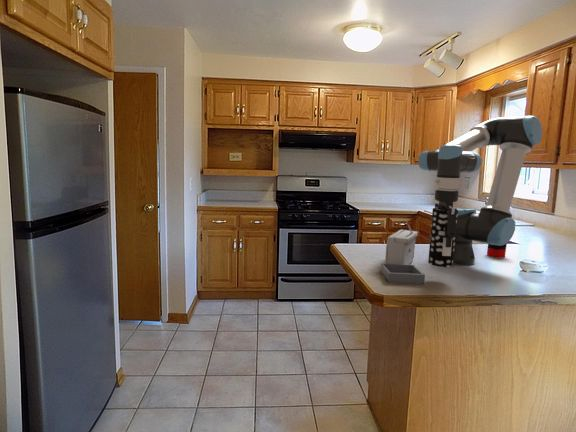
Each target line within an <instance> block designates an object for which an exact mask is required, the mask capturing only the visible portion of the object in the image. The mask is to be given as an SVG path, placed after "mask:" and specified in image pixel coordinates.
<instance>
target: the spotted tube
mask: <svg viewBox="0 0 576 432" xmlns="http://www.w3.org/2000/svg"><path fill="white" fill-rule="evenodd" d="M447 212H448V211H445V210H441V209H438V208H435V207H434V208H432V213H431V225H430V236H429V237H430V238H429V247H428V248H429V249H428V260H427V261H428V262H427V263H428V264H429V265H431V266H433V267H438V268H451V267H453V266H454V264H453V257H454V247H455V237H453V238H452V247H451V256H442V250H443V239H444V238H443V236H445V222H446V223H447V219H448V213H447ZM457 215H458V210H457V213H456V226H457Z"/></svg>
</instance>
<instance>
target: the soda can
mask: <svg viewBox="0 0 576 432" xmlns="http://www.w3.org/2000/svg"><path fill="white" fill-rule="evenodd" d="M507 244H508V242H507V243H506V244H505V245H501V246H499V245H490V244H488V243H487V251H486V255H487V256H489V257H491V258H496V259H497V258H498V259H503V258H505V257H506V252H507Z"/></svg>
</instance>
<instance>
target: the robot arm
mask: <svg viewBox="0 0 576 432" xmlns="http://www.w3.org/2000/svg"><path fill="white" fill-rule="evenodd" d="M542 137H543V128H542V123H541V121H540V119H539V118H538V117H537V116H535V115H522V116H520V115H519V116H507V117H506V116H505V117H495V118H491V119H488V120H486V121H483V122H481V123H480V124H476V125H475V126H473V127H472V128H470V129H469V131H468V132H467V133H465V134H463V135H461V136H459V137H458V138H457V137H456V138H455V139H453V140H451V141H449V142H448V143H446V144H443V145H441V146H440V147H438V148H436V149H434V150H426V151H425V150H424V151H422V152H421V153H420V154H419V155H418V161H417V162H418V167H419V168H420V169H421V170H423V171H429V172H430V171H431V172H432V171H433V172H436V179H435V180H434V182H435V188H436V190H435V191H434V200H435V201H437V202H438V203H434V208H438V209H441V210H445V211H448V212H447V213H448V219H447V223H446V222H445V236H443V238H444V239H443V250H442V256H451V247H452V238H453V237H455V247H454V257H453V265H457V266H458V265H460V266H469V265H470V266H471V265H474V264H475V262H476V256H475V253H474V249H473V242H479V243H483V244H484V243H485V244H487V245H488V244H490V245H499V246H501V245H505V244H506V243H507V244H508V242H510V241H511V239H512V238H513V236H514V233H515V230H516V220H515V219H514V218H512V217H513V213H512V212H511V211H510V209H511V206H512V202H513V199H514V196H515V192H516V189H517V185H518V183H519V178H520V174H521V172H522V168H523V165H524V161H525V157H526V155H528V154H530V153H531V152H532V150H533V146H534V147H535V146H538V145H539V144H540V143H541V142H542ZM487 146H488V147H489V146H499V149H500V150H501V153H500V156H499V160H498V163H497V167H496V170H495V173H494V177H493V180H492V185H491V188H490V191H489V193H488V198H487V200H486V205H484V206H482V207H480V210H479V212H478V213H477V210H476V208H475V209H474V208H456V207H454V205H453V204H454V203H456V202H458V200H459V191H458V190H460V182H461V181H460V180H461V179H460V178H461V177H460V176H461V173H469V174H470V173H474V172H476V171H479V169H480V168H481V166H482V163H483V158H482V157H481V155H480V154H479V153H478V152H475V151H474V150H476V149H482V148H484V147H487ZM457 210H458V215H457V226H456V213H457Z"/></svg>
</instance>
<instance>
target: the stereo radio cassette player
mask: <svg viewBox="0 0 576 432" xmlns="http://www.w3.org/2000/svg"><path fill="white" fill-rule="evenodd" d="M405 223H406V225H407V226H408V230H407V229H398V230H397V231H396V232H394V233H392V234H390V235H389V236H387V240H386V246H385V258H384V259H385V260H384V261H385V262H384V264H407V265H411V263H412V262H413V261H414V257H415V247H416V246H415V245H416V238H417V237H418V236H419V231H416V230H412V229H411V226H410V225H409V223H408V221H407V220H405Z"/></svg>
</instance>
